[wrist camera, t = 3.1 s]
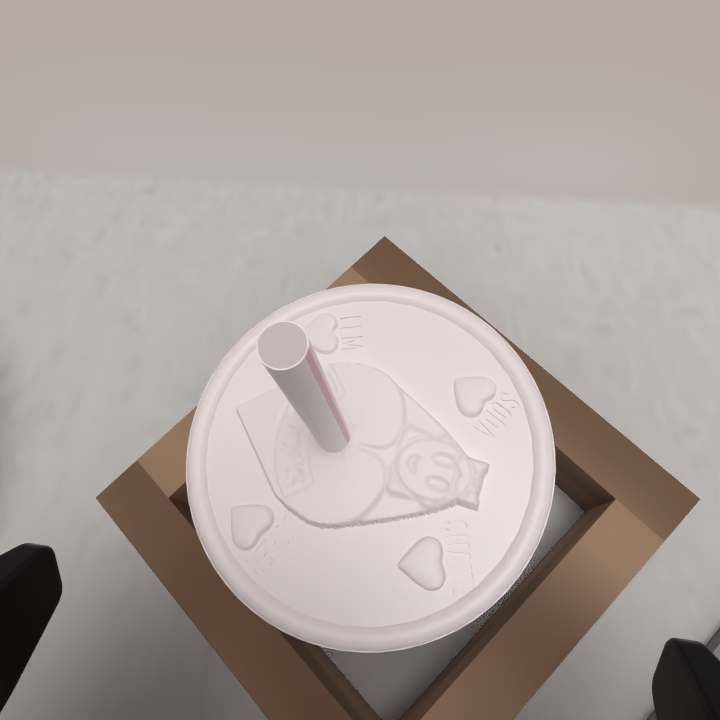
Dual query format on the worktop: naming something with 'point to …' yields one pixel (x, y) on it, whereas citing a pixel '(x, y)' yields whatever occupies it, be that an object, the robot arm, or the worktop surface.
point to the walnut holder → (499, 634)
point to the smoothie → (370, 468)
